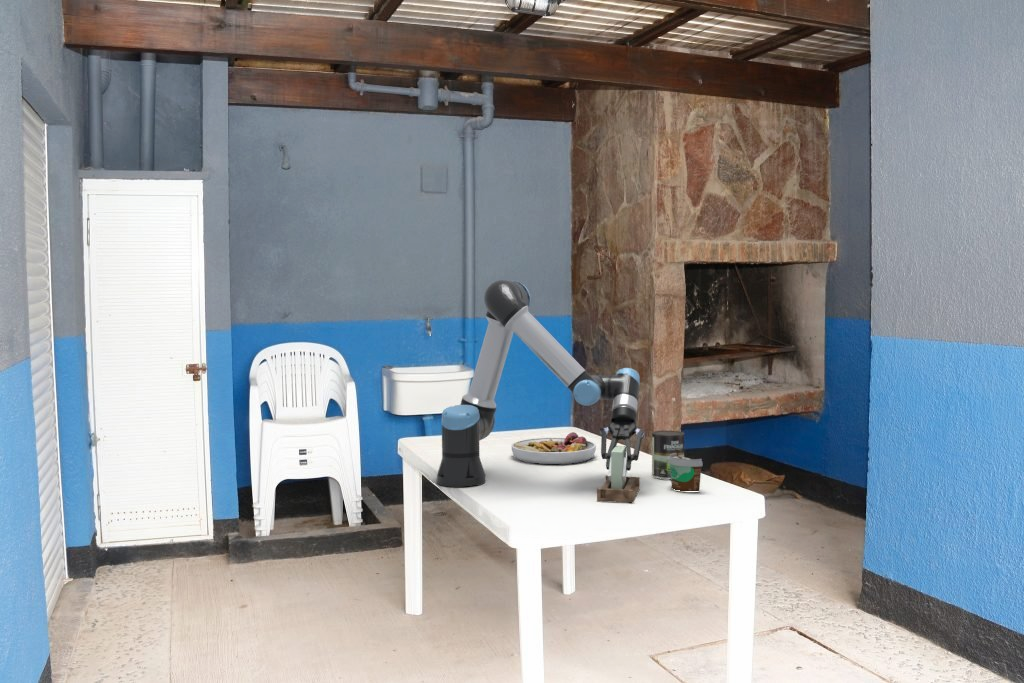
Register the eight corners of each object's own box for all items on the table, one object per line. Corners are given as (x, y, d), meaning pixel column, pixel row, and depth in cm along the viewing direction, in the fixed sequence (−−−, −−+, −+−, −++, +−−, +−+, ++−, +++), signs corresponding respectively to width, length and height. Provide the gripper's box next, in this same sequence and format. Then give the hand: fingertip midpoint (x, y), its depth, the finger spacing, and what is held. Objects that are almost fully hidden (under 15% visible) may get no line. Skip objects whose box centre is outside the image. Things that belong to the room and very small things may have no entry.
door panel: (610, 490, 243) (610, 452, 242) (615, 482, 252) (615, 445, 252) (622, 490, 242) (622, 452, 241) (626, 483, 252) (626, 446, 251)
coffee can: (690, 478, 268) (690, 434, 267) (660, 481, 265) (660, 436, 264) (675, 472, 278) (675, 429, 277) (646, 474, 275) (646, 431, 274)
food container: (659, 487, 256) (659, 454, 256) (674, 484, 259) (675, 452, 259) (686, 495, 246) (686, 461, 245) (702, 493, 249) (702, 459, 248)
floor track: (597, 501, 240) (596, 489, 240) (606, 487, 257) (606, 475, 257) (632, 503, 237) (632, 490, 237) (639, 488, 255) (639, 477, 254)
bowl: (565, 470, 283) (565, 447, 283) (494, 460, 301) (494, 438, 301) (611, 456, 307) (611, 434, 307) (543, 448, 325) (543, 427, 325)
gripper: (652, 421, 259) (646, 487, 244) (598, 419, 263) (590, 484, 248) (650, 406, 253) (644, 472, 238) (596, 404, 258) (587, 470, 243)
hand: (617, 478), depth 243 cm, fingers closed on door panel, 3 cm apart
